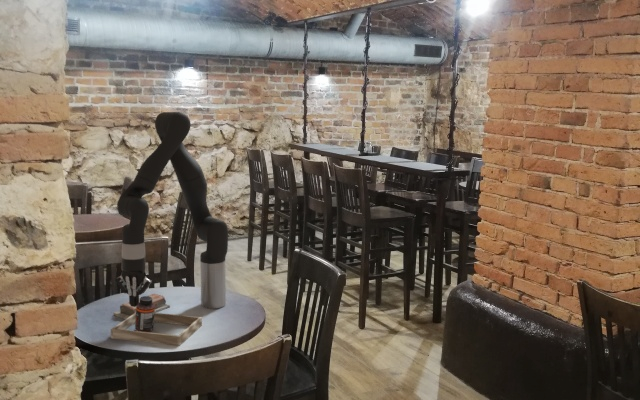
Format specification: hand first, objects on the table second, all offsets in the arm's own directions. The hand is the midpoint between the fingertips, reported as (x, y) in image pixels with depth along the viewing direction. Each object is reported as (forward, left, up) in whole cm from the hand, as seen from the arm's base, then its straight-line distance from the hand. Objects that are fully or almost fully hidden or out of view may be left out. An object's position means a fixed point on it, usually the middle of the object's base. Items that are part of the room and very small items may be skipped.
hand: (134, 305), depth 215 cm
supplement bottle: (0, +3, -8) cm, 9 cm away
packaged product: (-17, -6, -9) cm, 20 cm away
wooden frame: (0, +8, -8) cm, 12 cm away
